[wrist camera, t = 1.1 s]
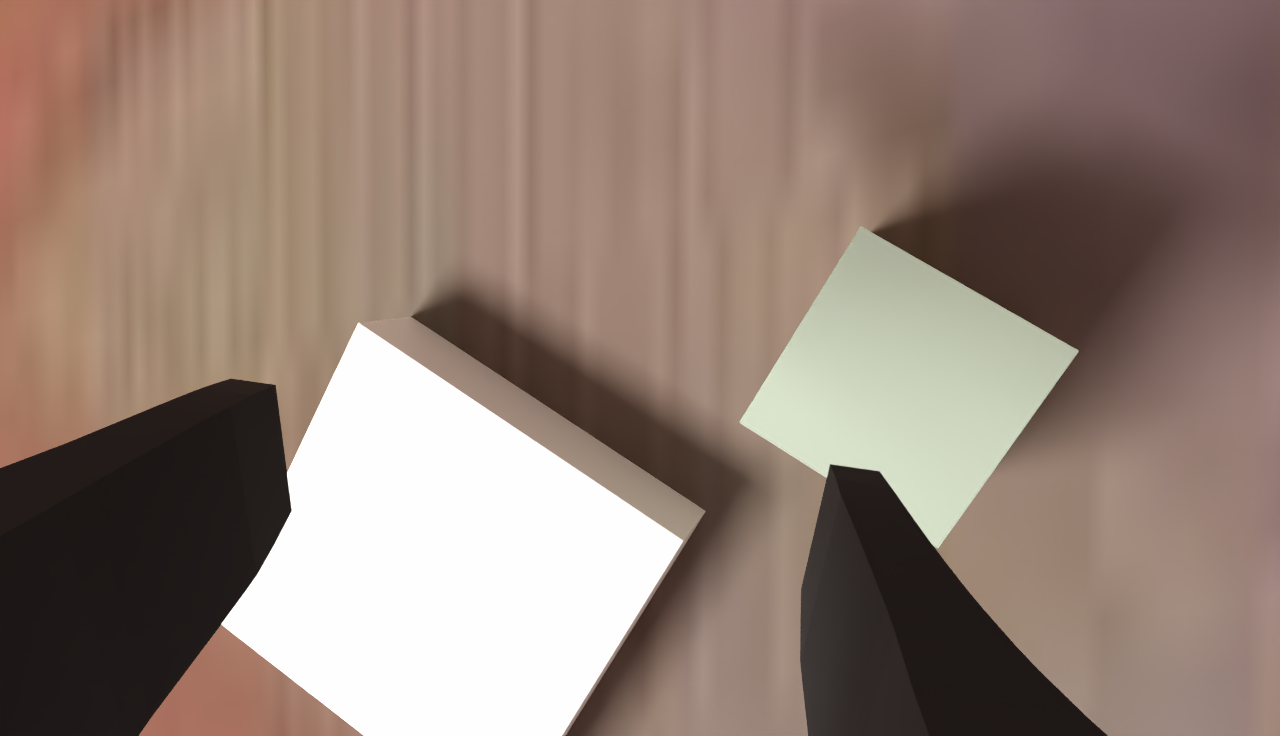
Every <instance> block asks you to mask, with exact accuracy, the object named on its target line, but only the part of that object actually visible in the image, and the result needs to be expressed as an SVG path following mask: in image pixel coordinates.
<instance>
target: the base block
mask: <svg viewBox="0 0 1280 736" xmlns="http://www.w3.org/2000/svg"><path fill="white" fill-rule="evenodd" d="M287 478H288V485H289V493H290V501H291V508H292V512H291V514H290V516H289V517H288V519H287V521H286V523H285V525H284V527H283V529H282V531H281V533H280V535H279V537H278V539H277V540H276V542H275V544H274V546H273V548H272V550H271V551H270V553H269V555H268V557H267V558H266V560H265V562H264V564H263V565H262V567H261V569H260V571H259V572H258V574H257V576H256V577H255V579H254V580H253V581H252V583H251V584H250V586H249V587H248V588H247V590H246V591H245V593H244V594H243V595H242V597H241V598H240V599H239V601H238V602H237V603H236V605H235V606H234V608H233V609H232V610H231V612H230V613H229V614H228V616H227V617H226V618H225V620H224V621H223V622H222V624H221V625H223V626H224V627H225V628H227V629H228V630H229V631H230V632H232V633H233V634H234V635H236V636H237V637H238V638H239V639H241V640H242V641H243V642H245V643H246V644H247V645H248V646H250V647H251V648H252V649H253V650H255V651H256V652H257V653H259V654H260V655H261V656H262V657H264V658H265V659H266V660H268V661H269V662H270V663H271V664H273V665H274V666H275V667H277V668H278V669H279V670H280V671H282V672H283V673H284V674H286V675H287V676H288V677H289V678H291V679H292V680H293V681H295V682H296V683H297V684H298V685H300V686H301V687H302V688H304V689H305V690H306V691H307V692H309V693H310V694H311V695H313V696H314V697H315V698H316V699H318V700H319V701H320V702H322V703H323V704H324V705H325V706H327V707H328V708H329V709H330V710H332V711H333V712H334V713H336V714H337V715H338V716H339V717H341V718H342V719H343V720H345V721H346V722H347V723H348V724H350V725H351V726H352V727H354V728H355V729H356V730H357V731H359V732H360V733H361V734H363V735H364V736H566V734H567V733H568V731H569V730H570V728H571V726H572V725H573V723H574V722H575V720H576V718H577V717H578V715H579V714H580V712H581V710H582V709H583V707H584V706H585V704H586V702H587V701H588V699H589V698H590V696H591V694H592V693H593V691H594V690H595V688H596V686H597V685H598V683H599V682H600V680H601V678H602V677H603V675H604V674H605V672H606V670H607V669H608V667H609V666H610V664H611V662H612V661H613V659H614V658H615V656H616V654H617V653H618V651H619V650H620V648H621V646H622V645H623V643H624V642H625V640H626V638H627V637H628V635H629V634H630V632H631V630H632V629H633V627H634V626H635V624H636V622H637V621H638V619H639V618H640V616H641V614H642V613H643V611H644V610H645V608H646V606H647V605H648V603H649V602H650V600H651V598H652V597H653V595H654V594H655V592H656V590H657V589H658V587H659V586H660V584H661V582H662V581H663V579H664V578H665V576H666V574H667V573H668V571H669V570H670V568H671V566H672V565H673V563H674V562H675V560H676V558H677V557H678V555H679V554H680V552H681V550H682V549H683V547H684V546H685V544H686V542H687V541H688V539H689V538H690V536H691V534H692V533H693V531H694V530H695V528H696V526H697V525H698V523H699V522H700V520H701V518H702V517H703V515H704V514H705V512H706V511H705V510H703V509H702V508H700V507H699V506H697V505H696V504H694V503H693V502H691V501H690V500H688V499H687V498H685V497H684V496H682V495H681V494H679V493H678V492H676V491H675V490H673V489H672V488H670V487H669V486H667V485H665V484H664V483H662V482H661V481H659V480H658V479H656V478H655V477H653V476H652V475H650V474H649V473H647V472H646V471H644V470H643V469H641V468H640V467H638V466H637V465H635V464H634V463H632V462H631V461H629V460H628V459H626V458H625V457H623V456H621V455H620V454H618V453H617V452H615V451H614V450H612V449H611V448H609V447H608V446H606V445H605V444H603V443H602V442H600V441H599V440H597V439H596V438H594V437H593V436H591V435H590V434H588V433H587V432H585V431H584V430H582V429H581V428H579V427H578V426H576V425H574V424H573V423H571V422H570V421H568V420H567V419H565V418H564V417H562V416H561V415H559V414H558V413H556V412H555V411H553V410H552V409H550V408H549V407H547V406H546V405H544V404H543V403H541V402H540V401H538V400H537V399H535V398H534V397H532V396H530V395H529V394H527V393H526V392H524V391H523V390H521V389H520V388H518V387H517V386H515V385H514V384H512V383H511V382H509V381H508V380H506V379H505V378H503V377H502V376H500V375H499V374H497V373H496V372H494V371H493V370H491V369H490V368H488V367H486V366H485V365H483V364H482V363H480V362H479V361H477V360H476V359H474V358H473V357H471V356H470V355H468V354H467V353H465V352H464V351H462V350H461V349H459V348H458V347H456V346H455V345H453V344H452V343H450V342H449V341H447V340H446V339H444V338H443V337H441V336H439V335H438V334H436V333H435V332H433V331H432V330H430V329H429V328H427V327H426V326H424V325H423V324H421V323H420V322H418V321H417V320H415V319H414V318H412V317H404V318H395V319H386V320H377V321H368V322H360V323H358V324H357V327H356V329H355V331H354V333H353V335H352V337H351V339H350V341H349V343H348V346H347V348H346V350H345V352H344V354H343V356H342V358H341V360H340V363H339V365H338V367H337V369H336V371H335V373H334V375H333V377H332V379H331V382H330V384H329V386H328V388H327V390H326V392H325V394H324V396H323V398H322V401H321V403H320V405H319V407H318V409H317V411H316V413H315V415H314V418H313V420H312V422H311V424H310V426H309V428H308V430H307V432H306V434H305V437H304V439H303V441H302V443H301V445H300V447H299V449H298V451H297V453H296V456H295V458H294V460H293V462H292V464H291V466H290V468H289V470H288V473H287Z"/></svg>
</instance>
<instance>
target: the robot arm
mask: <svg viewBox="0 0 1280 736" xmlns="http://www.w3.org/2000/svg"><path fill="white" fill-rule="evenodd" d="M291 512H292V508H291V501H290V493H289V485H288V478H287V470H286V462H285V454H284V447H283V439H282V431H281V424H280V416H279V408H278V401H277V393H276V385H271V384H264V383H257V382H250V381H243V380H236V379H229V380H225V381H222V382H219V383H216V384H213V385H210V386H207V387H204V388H201V389H199V390H196V391H193V392H191V393H188V394H186V395H183V396H180V397H178V398H175V399H173V400H170V401H168V402H166V403H163V404H161V405H158V406H156V407H153V408H151V409H149V410H146V411H144V412H141V413H139V414H136V415H134V416H132V417H129V418H127V419H124V420H122V421H119V422H117V423H115V424H112V425H110V426H107V427H105V428H102V429H100V430H98V431H95V432H93V433H90V434H88V435H86V436H83V437H81V438H78V439H76V440H73V441H71V442H68V443H66V444H63V445H61V446H58V447H55V448H53V449H50V450H48V451H45V452H42V453H40V454H37V455H34V456H32V457H29V458H26V459H24V460H21V461H18V462H16V463H13V464H11V465H8V466H5V467H3V468H0V736H139V734H140V733H141V731H142V730H143V728H144V727H145V725H146V724H147V723H148V721H149V720H150V718H151V717H152V716H153V714H154V713H155V712H156V710H157V709H158V708H159V706H160V705H161V704H162V702H163V701H164V700H165V698H166V697H167V696H168V694H169V693H170V692H171V690H172V689H173V688H174V686H175V685H176V684H177V682H178V681H179V680H180V678H181V677H182V676H183V674H184V673H185V672H186V670H187V669H188V668H189V666H190V665H191V664H192V662H193V661H194V660H195V658H196V657H197V656H198V654H199V653H200V652H201V650H202V649H203V648H204V646H205V645H206V644H207V642H208V641H209V640H210V638H211V637H212V636H213V634H214V633H215V632H216V630H217V629H218V628H219V626H220V625H221V624H222V622H223V621H224V620H225V618H226V617H227V616H228V614H229V613H230V612H231V610H232V609H233V608H234V606H235V605H236V603H237V602H238V601H239V599H240V598H241V597H242V595H243V594H244V593H245V591H246V590H247V588H248V587H249V586H250V584H251V583H252V581H253V580H254V579H255V577H256V576H257V574H258V572H259V571H260V569H261V567H262V565H263V564H264V562H265V560H266V558H267V557H268V555H269V553H270V551H271V550H272V548H273V546H274V544H275V542H276V540H277V539H278V537H279V535H280V533H281V531H282V529H283V527H284V525H285V523H286V521H287V519H288V517H289V516H290V514H291ZM800 662H801V672H802V681H803V691H804V700H805V709H806V718H807V727H808V736H1107V735H1106V734H1105V733H1104V732H1103V731H1102V730H1101V729H1100V728H1098V727H1097V726H1096V725H1095V724H1094V723H1093V722H1092V721H1091V720H1090V719H1089V718H1087V717H1086V716H1085V715H1084V714H1083V713H1082V712H1081V711H1080V710H1079V709H1078V708H1077V707H1076V706H1075V705H1074V704H1073V703H1072V702H1071V701H1070V700H1069V699H1068V698H1067V697H1066V696H1065V695H1064V694H1063V693H1062V692H1061V691H1060V690H1059V689H1058V688H1056V687H1055V686H1054V685H1053V684H1052V683H1051V682H1050V681H1049V680H1048V679H1047V678H1046V677H1045V676H1044V675H1043V674H1042V673H1041V672H1040V671H1039V670H1038V669H1037V668H1036V667H1035V666H1034V665H1033V664H1032V663H1031V662H1030V661H1029V659H1028V658H1027V657H1026V656H1025V655H1024V654H1023V653H1022V652H1021V651H1020V650H1019V649H1018V648H1017V647H1016V646H1015V645H1014V643H1013V642H1012V641H1011V640H1010V639H1009V638H1008V637H1007V636H1006V634H1005V633H1004V632H1003V631H1002V630H1001V629H1000V628H999V627H998V625H997V624H996V623H995V622H994V621H993V620H992V619H991V617H990V616H989V615H988V614H987V613H986V612H985V611H984V610H983V608H982V607H981V606H980V605H979V604H978V602H977V601H976V600H975V599H974V598H973V596H972V595H971V594H970V593H969V592H968V590H967V589H966V588H965V587H964V585H963V584H962V583H961V582H960V580H959V579H958V578H957V576H956V575H955V574H954V573H953V571H952V570H951V569H950V567H949V566H948V565H947V564H946V562H945V561H944V560H943V558H942V557H941V556H940V554H939V553H938V552H937V550H936V549H935V548H934V546H933V545H932V544H931V542H930V541H929V540H928V538H927V537H926V535H925V534H924V533H923V531H922V530H921V528H920V527H919V526H918V524H917V523H916V522H915V520H914V519H913V517H912V516H911V515H910V513H909V512H908V510H907V509H906V507H905V506H904V505H903V503H902V502H901V500H900V499H899V497H898V496H897V495H896V493H895V492H894V490H893V489H892V488H891V486H890V485H889V484H888V482H887V481H886V479H885V478H884V477H883V475H882V474H881V473H880V471H874V470H867V469H860V468H853V467H846V466H839V465H832V464H830V467H829V471H828V475H827V480H826V484H825V488H824V493H823V497H822V501H821V506H820V510H819V514H818V519H817V523H816V527H815V532H814V536H813V540H812V545H811V549H810V554H809V558H808V562H807V567H806V571H805V575H804V580H803V584H802V588H801V651H800Z"/></svg>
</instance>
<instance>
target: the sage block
mask: <svg viewBox="0 0 1280 736" xmlns="http://www.w3.org/2000/svg"><path fill="white" fill-rule="evenodd" d="M1078 352H1079V350H1077V349H1075V348H1073V347H1071V346H1070V345H1068V344H1066V343H1064V342H1063V341H1061V340H1059V339H1057V338H1056V337H1054V336H1052V335H1050V334H1049V333H1047V332H1045V331H1043V330H1042V329H1040V328H1038V327H1036V326H1035V325H1033V324H1031V323H1029V322H1028V321H1026V320H1024V319H1022V318H1021V317H1019V316H1017V315H1015V314H1014V313H1012V312H1010V311H1008V310H1007V309H1005V308H1003V307H1001V306H1000V305H998V304H996V303H994V302H993V301H991V300H989V299H987V298H986V297H984V296H982V295H980V294H979V293H977V292H975V291H973V290H972V289H970V288H968V287H966V286H965V285H963V284H961V283H959V282H958V281H956V280H954V279H952V278H951V277H949V276H947V275H945V274H944V273H942V272H940V271H938V270H937V269H935V268H933V267H931V266H930V265H928V264H926V263H924V262H923V261H921V260H919V259H917V258H916V257H914V256H912V255H910V254H909V253H907V252H905V251H903V250H902V249H900V248H898V247H896V246H894V245H893V244H891V243H889V242H887V241H886V240H884V239H882V238H880V237H879V236H877V235H875V234H873V233H872V232H870V231H868V230H866V229H865V228H863V227H860V228H859V230H858V231H857V233H856V235H855V236H854V238H853V240H852V241H851V243H850V244H849V246H848V248H847V249H846V251H845V252H844V254H843V256H842V257H841V259H840V261H839V262H838V264H837V265H836V267H835V269H834V270H833V272H832V273H831V275H830V277H829V278H828V280H827V282H826V283H825V285H824V286H823V288H822V290H821V291H820V293H819V294H818V296H817V298H816V299H815V301H814V303H813V304H812V306H811V307H810V309H809V311H808V312H807V314H806V315H805V317H804V319H803V320H802V322H801V324H800V325H799V327H798V328H797V330H796V332H795V333H794V335H793V337H792V338H791V340H790V341H789V343H788V345H787V346H786V348H785V349H784V351H783V353H782V354H781V356H780V358H779V359H778V361H777V362H776V364H775V366H774V367H773V369H772V370H771V372H770V374H769V375H768V377H767V379H766V380H765V382H764V383H763V385H762V387H761V388H760V390H759V391H758V393H757V395H756V396H755V398H754V400H753V401H752V403H751V404H750V406H749V408H748V409H747V411H746V412H745V414H744V416H743V417H742V419H741V421H740V422H739V423H741V424H742V425H744V426H745V427H747V428H749V429H750V430H752V431H753V432H755V433H757V434H758V435H760V436H761V437H763V438H764V439H766V440H768V441H769V442H771V443H772V444H774V445H775V446H777V447H779V448H780V449H782V450H783V451H785V452H787V453H788V454H790V455H791V456H793V457H794V458H796V459H798V460H799V461H801V462H802V463H804V464H805V465H807V466H809V467H810V468H812V469H813V470H815V471H816V472H818V473H820V474H821V475H823V476H824V477H826V478H827V475H828V471H829V467H830V464H832V465H839V466H846V467H853V468H860V469H867V470H874V471H880V473H881V474H882V475H883V477H884V478H885V479H886V481H887V482H888V484H889V485H890V486H891V488H892V489H893V490H894V492H895V493H896V495H897V496H898V497H899V499H900V500H901V502H902V503H903V505H904V506H905V507H906V509H907V510H908V512H909V513H910V515H911V516H912V517H913V519H914V520H915V522H916V523H917V524H918V526H919V527H920V528H921V530H922V531H923V533H924V534H925V535H926V537H927V538H928V540H929V541H930V542H931V544H932V545H933V546H935V547H936V548H939V546H940V545H941V543H942V542H943V541H944V539H945V538H946V536H947V535H948V534H949V532H950V531H951V529H952V528H953V527H954V525H955V524H956V522H957V521H958V520H959V518H960V517H961V515H962V514H963V513H964V511H965V510H966V508H967V507H968V506H969V504H970V503H971V501H972V500H973V499H974V497H975V496H976V494H977V493H978V492H979V490H980V489H981V487H982V486H983V485H984V483H985V482H986V480H987V479H988V478H989V476H990V475H991V473H992V472H993V471H994V469H995V468H996V466H997V465H998V464H999V462H1000V461H1001V459H1002V458H1003V457H1004V455H1005V454H1006V452H1007V451H1008V450H1009V448H1010V447H1011V445H1012V444H1013V443H1014V441H1015V440H1016V439H1017V437H1018V436H1019V434H1020V433H1021V432H1022V430H1023V429H1024V427H1025V426H1026V425H1027V423H1028V422H1029V420H1030V419H1031V418H1032V416H1033V415H1034V413H1035V412H1036V411H1037V409H1038V408H1039V406H1040V405H1041V404H1042V402H1043V401H1044V399H1045V398H1046V397H1047V395H1048V394H1049V392H1050V391H1051V390H1052V388H1053V387H1054V385H1055V384H1056V383H1057V381H1058V380H1059V378H1060V377H1061V376H1062V374H1063V373H1064V371H1065V370H1066V369H1067V367H1068V366H1069V364H1070V363H1071V362H1072V360H1073V359H1074V357H1075V356H1076V355H1077V353H1078Z"/></svg>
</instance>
